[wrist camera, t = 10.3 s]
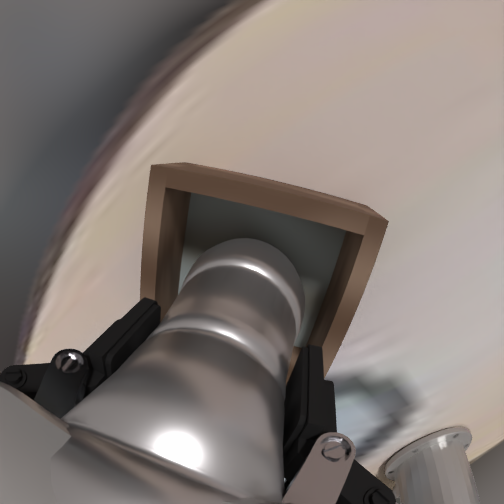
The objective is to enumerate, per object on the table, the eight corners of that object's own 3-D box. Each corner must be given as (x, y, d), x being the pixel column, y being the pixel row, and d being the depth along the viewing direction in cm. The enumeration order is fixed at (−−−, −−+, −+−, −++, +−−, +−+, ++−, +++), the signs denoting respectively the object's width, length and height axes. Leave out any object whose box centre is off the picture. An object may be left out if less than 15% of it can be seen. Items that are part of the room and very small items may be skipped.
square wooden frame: (313, 356, 21) (313, 398, 16) (166, 316, 22) (140, 348, 17) (367, 205, 16) (388, 221, 12) (184, 162, 17) (151, 164, 13)
